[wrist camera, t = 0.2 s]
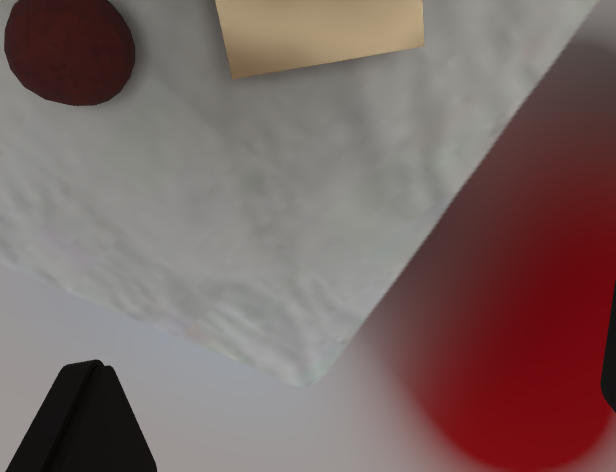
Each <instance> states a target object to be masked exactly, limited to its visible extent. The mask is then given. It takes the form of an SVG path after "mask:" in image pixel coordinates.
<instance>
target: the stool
mask: <svg viewBox="0 0 616 472" xmlns="http://www.w3.org/2000/svg"><path fill="white" fill-rule="evenodd" d="M215 2H216V6H217V11H218V15H219V20H220V25H221V29H222V34H223V39H224V43H225V48H226V52H227V57H228V62H229V66H230V71H231V76H232V80H233V79H238V78H244V77H250V76H256V75H261V74H267V73H273V72H279V71H284V70H290V69H296V68H302V67H308V66H313V65H319V64H325V63H331V62H336V61H342V60H348V59H354V58H359V57H365V56H371V55H377V54H383V53H388V52H394V51H400V50H406V49H411V48H417V47H423V46H424V26H423V3H422V0H215Z"/></svg>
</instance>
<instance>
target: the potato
mask: <svg viewBox="0 0 616 472" xmlns="http://www.w3.org/2000/svg"><path fill="white" fill-rule="evenodd" d="M4 51H5V54H6V57H7V60H8V63H9V66H10V69H11V70H12V72H13V73H14V74H15V76H16V77H17V78H18V80H19V81H20V82H21V83H22V85H23V86H24V87H25V88H27V89H29V90H30V91H32V92H34V93H35V94H37V95H39V96H40V97H42V98H44V99H46V100H50V101H54V102H59V103H63V104H68V105H73V106H87V105H97V104H100V103H103V102H106V101H109V100H110V99H111V98H113V97H114V96H115V95H117V94H118V93H119V92H120V91H121V90H122V88H123V87H124V85H125V84H126V82H127V81H128V79H129V78H130V76H131V72H132V69H133V66H134V62H135V45H134V42H133V38H132V35H131V32H130V30H129V28H128V26H127V24H126V23H125V21H124V19H123V17H122V16H121V15H120V14H119V12H118V11H117V10H116V9H115V7H114V6H113V5H112V4H111V3H110V2H108V1H107V0H19V1H17V2H16V3H15V4H14V6H13V8H12V10H11V13H10V16H9V19H8V22H7V25H6V28H5V42H4Z"/></svg>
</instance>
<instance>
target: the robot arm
mask: <svg viewBox="0 0 616 472" xmlns="http://www.w3.org/2000/svg"><path fill="white" fill-rule="evenodd" d="M601 390H602V393H603V396H604V398H605V400H606V401H607V402H608V404H609V405H610V406H611V408H612V409H613V410H614V411H615V412H616V281H615V288H614V295H613V301H612V308H611V315H610V322H609V329H608V336H607V342H606V349H605V355H604V362H603V369H602V376H601ZM6 472H157V467H156V463H155V461H154V458H153V456H152V454H151V452H150V449H149V447H148V445H147V443H146V440H145V438H144V436H143V434H142V431H141V430H140V427H139V424H138V422H137V420H136V418H135V415H134V413H133V411H132V409H131V407H130V404H129V402H128V400H127V398H126V395H125V393H124V391H123V388H122V386H121V384H120V382H119V379H118V377H117V375H116V373H115V371H114V369H113V367H111V366H104V365H103V363H102V362H101V361H100V360H90V361H85V362H80V363H74V364H68V365H66V366H64V367H63V368H62V369H61V371H60V372H59V374H58V376H57V378H56V380H55V381H54V383H53V385H52V387H51V389H50V391H49V392H48V394H47V396H46V398H45V400H44V402H43V404H42V406H41V407H40V409H39V411H38V413H37V415H36V417H35V418H34V420H33V422H32V424H31V426H30V427H29V429H28V431H27V433H26V435H25V437H24V439H23V440H22V442H21V444H20V446H19V448H18V449H17V451H16V453H15V455H14V457H13V459H12V461H11V462H10V464H9V466H8V468H7V470H6Z"/></svg>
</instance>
